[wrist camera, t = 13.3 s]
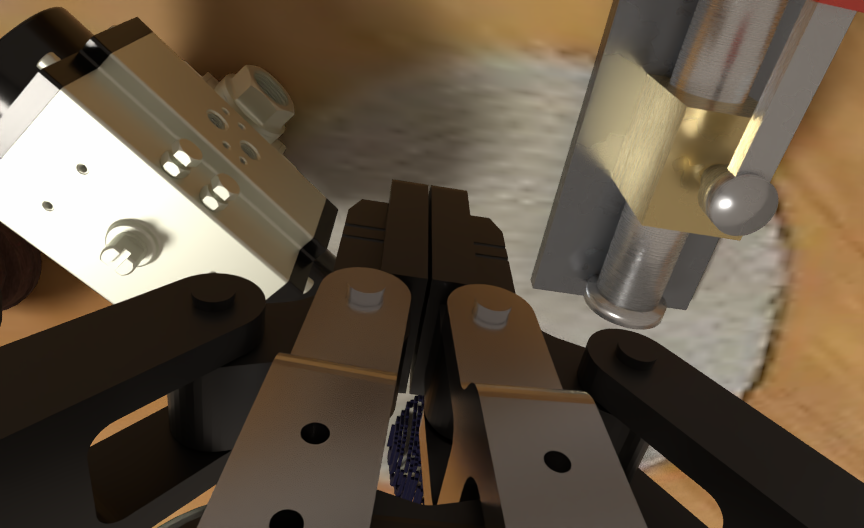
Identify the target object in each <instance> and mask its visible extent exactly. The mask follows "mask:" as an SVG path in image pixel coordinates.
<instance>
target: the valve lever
mask: <svg viewBox="0 0 864 528" xmlns="http://www.w3.org/2000/svg"><path fill="white" fill-rule="evenodd" d="M857 11H859V12H863V13H864V0H806V1H805V3H804V5H803V8H802V10H801V12H800V14H799V16H798V18H797V20H796V23H795V25H794V27H793V29H792V31H791V33H790V35H789V38H788V40H787V42H786V44H785V46H784V48H783V50H782V53H781V55H780V57H779V59H778V61H777V63H776V65H775V68H774V70H773V72H772V74H771V76H770V78H769V80H768V83H767V85H766V87H765V89H764V91H763V93H762V95H761V98H760V100H759V102H758V104H757V106H756V108H755V110H754V113H753V115H752V117H751V119H750V121H749V123H748V125H747V128H746V130H745V132H744V134H743V136H742V138H741V140H740V143H739V145H738V147H737V149H736V151H735V153H734V155H733V158H732V160H731V162H730V163H729V164H725V165H722V166H720V167H718V168H716V169H715V170H713V171H712V172H710V173H709V174H708V175H707V176H706V178H705V179H704V180H703V182H702V183H701V185H700V188H699V191H698V204H699V206H700V208H701V210H702V211H703V212H704V213H705V214H706V215H707V217H708V218H709V219H710V220H711V221H712V222H713V224H714V225H715V226H716V227H717V228H718V229H719V230H720V231H721V232H723V233H725V234H727V235H731V236H743V235H748V234H751V233H753V232H755V231H757V230H759V229H761V228H762V227H763V226H765V225H766V224H767V223H768V222H769V221H770V220H771V218H772V217H773V215H774V214H775V212H776V209H777V206H778V194H777V191H776V189H775V188H774V186H773V185H772V184H771V183H770V181H771V179H772V177H773V175H774V173H775V171H776V169H777V167H778V165H779V163H780V161H781V159H782V157H783V155H784V153H785V151H786V149H787V147H788V145H789V143H790V141H791V139H792V137H793V136H794V134H795V132H796V130H797V128H798V126H799V124H800V122H801V120H802V118H803V116H804V114H805V112H806V110H807V108H808V106H809V104H810V102H811V100H812V98H813V96H814V94H815V92H816V90H817V88H818V86H819V85H820V83H821V81H822V79H823V77H824V75H825V73H826V71H827V69H828V67H829V65H830V63H831V61H832V59H833V57H834V55H835V53H836V51H837V49H838V47H839V45H840V43H841V41H842V39H843V37H844V35H845V34H846V32H847V30H848V28H849V26H850V24H851V22H852V20H853V18H854V16H855V14H856V12H857Z"/></svg>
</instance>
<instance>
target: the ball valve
mask: <svg viewBox="0 0 864 528" xmlns="http://www.w3.org/2000/svg"><path fill="white" fill-rule="evenodd" d="M294 114H295V113H294V105H293V102H292V99H291V97H290V96H289V94H288V92H287V91H286V90H285V88H284V87H283V86H282V85H281V84H280V83H279V82H278V81H277V80H276V79H275V78H274V77H273V76H272V75H271V74H270V73H268V72H267V71H265V70H264V69H262V68H260V67H258V66H254V65H245V66H244V67H243V68H242V69H241V70H240V71H239V72H238V73H237V74H227V75H226V76H225V77H224V78H223V79H222V80H221V81H220V82H219V81H218V80H216V79H215V78H214V77H213V76H212V75H211V74H210V73H209V72H207V73H206V74H205V75H204V76H201V75H200V74H198V73H197V72H196V71H195V70H194V69H193V68H192V67H191V66H190V65H189V64H188V63H187V62H186V61H185V60H182V59H181V58H180V57H179V56H178V55H177V54H176V53H175V52H174V51H173V50H171V49H170V48H169V47H168V46H167V45H166V44H165V43H164V42H163V41H162V40H161V39H160V38H159V37H158V36H157V35H156V34H155V33H154V32H153V31H152V30H151V29H150V28H149V27H147V26H146V25H145V24H144V23H143V22H142V21H141V20H140V19H139V18H138V17H136V18H133V19H131V20H129V21H126V22H124V23H122V24H119V25H117V26H116V25H113V26H111V27H110V28H109V29H108V30H105V31H103V32H101V33H98V34H96V35H93V34H92V33H91V32H90V31H89V30H88V29H87V28H86V27H84V26H83V25H82V24H81V23H80V22H79V21H78V20H77V19H76V18H75V17H74V16H73V15H71V14H70V13H69V12H68V11H67V10H66V9H64V8H62V7H53V8H49V9H46V10H43V11H41V12H39V13H37V14H35V15H33V16H32V17H30V18H28V19H27V20H25V21H23V22H22V23H20V24H19V25H18V26H16V27H15V28H13V29H12V30H11V31H9V32H8V33H7V34H6V35H4V36H3V37H2V38H1V39H0V222H2V223H3V224H4V225H6V226H7V227H8V228H10V229H11V230H12V231H14V232H15V233H17V234H18V235H19V236H21V237H22V238H23V239H25V240H26V241H28V242H29V243H30V244H32V245H33V246H34V247H36V248H37V249H38V250H40V251H41V252H43V253H44V254H45V255H47V256H48V257H49V258H51V259H52V260H53V261H55V262H56V263H58V264H59V265H60V266H62V267H63V268H64V269H66V270H67V271H69V272H70V273H71V274H73V275H74V276H75V277H77V278H78V279H79V280H81V281H82V282H84V283H85V284H86V285H88V286H89V287H90V288H92V289H93V290H94V291H96V292H97V293H99V294H100V295H101V296H103V297H104V298H105V299H107V300H108V301H109V302H111V303H112V304H116V303H119V302H122V301H124V300H127V299H130V298H132V297H135V296H138V295H140V294H143V293H146V292H149V291H151V290H154V289H157V288H159V287H162V286H165V285H167V284H170V283H173V282H175V281H178V280H181V279H183V278H187V277H190V276H193V275H198V274H206V273H224V274H231V275H236V276H240V277H243V278H245V279H248V280H250V281H252V282H253V283H255V284H256V285H257V286H259V287H260V288H261V290H262V291H263V293H264V295H265V299H266V303H281V302H292V301H298V300H302V299H306V298H309V297H311V296H314V295H316V293H317V290H318V288H319V286H320V283H321V282H322V280H323V279H324V278H325V277H326V276H327V275H329V274H330V273H332V272H333V269H334V265H335V261H336V256H335V255H333V254H332V253H331V252H330V251H329V250H328V249H327V247H328V244H329V240H330V237H331V233H332V230H333V226H334V223H335V219H336V216H337V212H338V209H337V208H336V207H335V206H334V205H333V204H332V203H331V202H330V201H329V200H328V199H327V198H326V197H325V196H324V195H323V194H322V193H321V192H320V191H318V190H317V189H316V188H315V187H314V186H313V185H312V184H311V183H310V182H309V181H308V180H307V179H306V178H305V177H304V176H303V175H302V174H301V173H300V172H299V171H298V170H297V168H296V167H295V166H294V165H293V164H292V163H291V162H290V161H289V160H288V159H287V158H286V157H285V156H284V155H283V153H284V151H285V150H286V146H285V145H284V144H283V143H281V142H280V141H279V140H278V139H277V138H278V137H279V136H281V135H282V134H283V133H284V131H285V123H286V122H287V121H288V120H289V119H290V118H291V117H292V116H293V115H294Z"/></svg>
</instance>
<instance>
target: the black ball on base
mask: <svg viewBox="0 0 864 528" xmlns="http://www.w3.org/2000/svg"><path fill="white" fill-rule="evenodd" d="M40 274H41V256H40V251H39V250H38V249H37V248H36V247H34V246H33V245H32V244H30V243H29V242H28V241H26V240H25V239H23V238H22V237H21V236H19V235H18V234H17V233H15V232H14V231H12V230H11V229H10V228H8V227H7V226H6V225H4V224H3V223H2V222H0V325H1V322H2V311H3V310H7V309H9V308H11V307H13V306H15V305H17V304H19V303H20V302H21V301H22V300H23V299H25V298H26V297H27V296H28V295H29V294H30V293H31V292H32V290H33V289H34V287H35V286H36V284H37V283H38V280H39V277H40Z"/></svg>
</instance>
